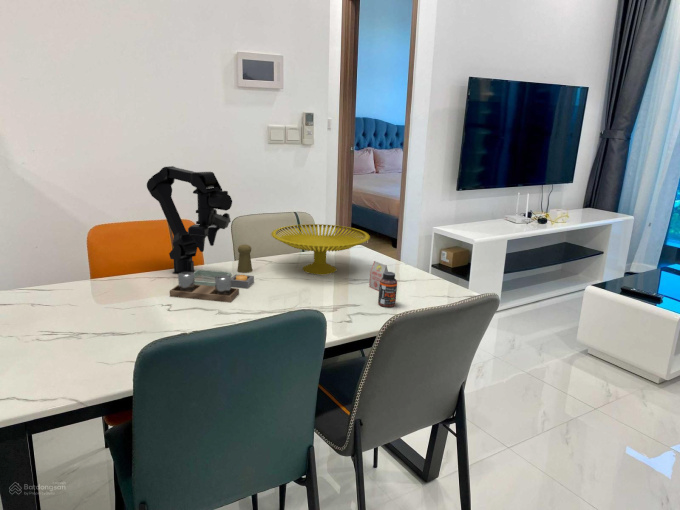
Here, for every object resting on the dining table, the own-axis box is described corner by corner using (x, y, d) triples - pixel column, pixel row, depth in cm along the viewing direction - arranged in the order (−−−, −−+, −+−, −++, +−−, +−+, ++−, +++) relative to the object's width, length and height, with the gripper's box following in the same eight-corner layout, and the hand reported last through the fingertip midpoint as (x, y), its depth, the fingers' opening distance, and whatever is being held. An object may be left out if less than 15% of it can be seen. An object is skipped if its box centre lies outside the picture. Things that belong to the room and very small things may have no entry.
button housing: (228, 289, 183) (228, 280, 182) (235, 283, 190) (235, 274, 189) (247, 291, 182) (247, 281, 181) (253, 285, 189) (253, 275, 188)
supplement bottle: (384, 308, 171) (386, 276, 168) (374, 302, 176) (376, 271, 173) (398, 306, 174) (401, 274, 171) (389, 300, 179) (391, 269, 176)
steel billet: (176, 295, 172) (175, 275, 170) (183, 290, 177) (182, 271, 175) (190, 296, 172) (190, 276, 170) (197, 291, 177) (196, 272, 175)
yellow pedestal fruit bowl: (375, 261, 226) (377, 228, 222) (358, 290, 188) (360, 250, 184) (288, 252, 235) (289, 220, 231) (255, 278, 197) (255, 240, 193)
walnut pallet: (169, 299, 171) (169, 290, 171) (181, 291, 179) (180, 283, 178) (230, 305, 168) (230, 296, 168) (239, 296, 176) (239, 288, 175)
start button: (234, 285, 184) (234, 277, 183) (238, 282, 188) (238, 274, 187) (245, 286, 184) (245, 278, 183) (248, 283, 187) (248, 275, 187)
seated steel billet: (212, 298, 171) (212, 278, 169) (218, 293, 175) (218, 274, 174) (227, 300, 170) (227, 280, 168) (233, 295, 175) (233, 275, 173)
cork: (254, 270, 207) (254, 243, 204) (250, 274, 201) (250, 247, 198) (239, 269, 207) (239, 242, 204) (235, 273, 201) (234, 246, 198)
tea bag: (376, 285, 194) (378, 260, 192) (388, 290, 189) (390, 264, 187) (369, 287, 192) (370, 261, 190) (380, 292, 187) (382, 266, 184)
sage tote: (182, 288, 182) (182, 280, 182) (198, 277, 195) (197, 269, 194) (217, 291, 181) (217, 283, 180) (231, 280, 193) (231, 272, 192)
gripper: (217, 213, 176) (218, 256, 180) (236, 204, 193) (236, 244, 198) (186, 210, 177) (188, 254, 181) (208, 202, 195) (209, 242, 199)
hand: (207, 248), depth 190 cm, fingers open, 9 cm apart
